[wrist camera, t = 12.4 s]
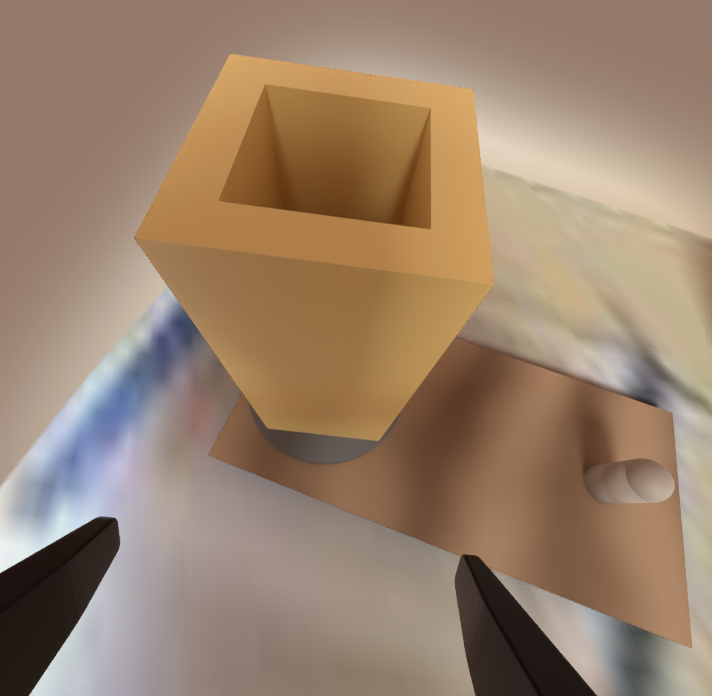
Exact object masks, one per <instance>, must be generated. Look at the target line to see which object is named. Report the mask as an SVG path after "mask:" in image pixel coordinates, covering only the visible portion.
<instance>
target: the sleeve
mask: <svg viewBox="0 0 712 696" xmlns="http://www.w3.org/2000/svg"><path fill="white" fill-rule="evenodd" d="M134 239H135V240H136V242H137V243H138V244H139V246H140V247H141V248H142V250H143V252H144V253H145V254H146V256H147V257H148V259H149V260H150V261H151V263H152V264H153V266H154V267H155V269H156V270H157V272H158V273H159V274H160V276H161V277H162V279H163V280H164V281H165V283H166V284H167V286H168V287H169V289H170V290H171V291H172V293H173V294H174V296H175V297H176V299H177V300H178V301H179V303H180V304H181V306H182V307H183V309H184V310H185V311H186V313H187V314H188V316H189V317H190V319H191V320H192V321H193V323H194V324H195V326H196V327H197V329H198V330H199V331H200V333H201V334H202V336H203V337H204V339H205V340H206V341H207V343H208V344H209V346H210V347H211V349H212V350H213V351H214V353H215V354H216V356H217V357H218V359H219V360H220V361H221V363H222V364H223V366H224V367H225V369H226V370H227V371H228V373H229V374H230V376H231V377H232V379H233V380H234V381H235V383H236V384H237V386H238V387H239V389H240V390H241V391H242V393H243V394H244V396H245V397H246V398H247V400H248V401H249V403H250V404H251V406H252V407H253V408H254V410H255V411H256V413H257V414H258V416H259V417H260V418H261V420H262V421H263V423H264V424H265V426H266V427H267V428H268V429H276V430H285V431H294V432H303V433H311V434H320V435H329V436H337V437H346V438H355V439H364V440H372V441H379V440H380V439H381V437H382V436H383V435H384V433H385V432H386V431H387V429H388V428H389V426H390V425H391V424H392V422H393V421H394V420H395V418H396V417H397V416H398V414H399V413H400V412H401V410H402V409H403V407H404V406H405V405H406V403H407V402H408V401H409V399H410V398H411V397H412V395H413V394H414V393H415V391H416V390H417V388H418V387H419V386H420V384H421V383H422V382H423V380H424V379H425V378H426V376H427V375H428V373H429V372H430V371H431V369H432V368H433V367H434V365H435V364H436V363H437V361H438V360H439V359H440V357H441V356H442V354H443V353H444V352H445V350H446V349H447V348H448V346H449V345H450V344H451V342H452V341H453V340H454V338H455V337H456V335H457V334H458V333H459V331H460V330H461V329H462V327H463V326H464V325H465V323H466V322H467V321H468V319H469V318H470V316H471V315H472V314H473V312H474V311H475V310H476V308H477V307H478V306H479V304H480V303H481V302H482V300H483V299H484V297H485V296H486V295H487V293H488V292H489V291H490V289H491V288H492V287H493V285H494V280H493V270H492V261H491V252H490V242H489V233H488V224H487V214H486V205H485V196H484V186H483V177H482V168H481V158H480V149H479V140H478V131H477V122H476V112H475V102H474V93H473V89H467V88H461V87H454V86H447V85H440V84H433V83H426V82H420V81H412V80H405V79H399V78H392V77H385V76H379V75H372V74H365V73H358V72H351V71H344V70H337V69H331V68H330V69H329V68H324V67H317V66H310V65H303V64H296V63H289V62H283V61H275V60H268V59H262V58H255V57H248V56H241V55H235V54H230V56H229V57H228V59H227V61H226V63H225V65H224V67H223V69H222V71H221V73H220V75H219V77H218V79H217V81H216V82H215V85H214V86H213V88H212V90H211V92H210V94H209V96H208V98H207V100H206V101H205V103H204V105H203V107H202V109H201V111H200V113H199V115H198V117H197V119H196V121H195V123H194V124H193V126H192V128H191V130H190V132H189V134H188V136H187V138H186V140H185V142H184V143H183V145H182V147H181V149H180V151H179V153H178V155H177V157H176V159H175V161H174V163H173V165H172V166H171V169H170V170H169V172H168V174H167V176H166V178H165V180H164V182H163V184H162V185H161V187H160V190H159V191H158V193H157V195H156V197H155V199H154V201H153V203H152V205H151V207H150V209H149V210H148V212H147V214H146V216H145V218H144V220H143V222H142V224H141V226H140V228H139V229H138V231H137V234H136V235H135V237H134Z"/></svg>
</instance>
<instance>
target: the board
mask: <svg viewBox="0 0 712 696" xmlns="http://www.w3.org/2000/svg"><path fill="white" fill-rule="evenodd" d="M209 456H211V457H213V458H216V459H218V460H221V461H223V462H226V463H228V464H231V465H233V466H236V467H239V468H241V469H244V470H246V471H249V472H251V473H254V474H256V475H259V476H261V477H264V478H266V479H269V480H271V481H274V482H276V483H279V484H281V485H284V486H286V487H289V488H291V489H294V490H296V491H299V492H301V493H304V494H306V495H309V496H311V497H314V498H316V499H319V500H321V501H324V502H326V503H329V504H331V505H334V506H336V507H339V508H341V509H344V510H346V511H349V512H351V513H354V514H356V515H359V516H361V517H364V518H366V519H369V520H371V521H374V522H376V523H379V524H381V525H384V526H386V527H389V528H391V529H394V530H396V531H399V532H401V533H404V534H406V535H409V536H411V537H414V538H416V539H419V540H421V541H424V542H426V543H429V544H431V545H434V546H436V547H439V548H441V549H444V550H446V551H449V552H451V553H454V554H456V555H459V556H462V555H463V554H468V555H476V556H478V557H480V558H481V559H482V561H483V562H484V563H485V564H486V565H487V567H489V568H491V569H494V570H496V571H499V572H501V573H504V574H506V575H509V576H511V577H514V578H516V579H519V580H521V581H524V582H526V583H529V584H531V585H534V586H536V587H539V588H541V589H544V590H546V591H549V592H551V593H554V594H556V595H559V596H561V597H564V598H566V599H569V600H571V601H574V602H576V603H579V604H581V605H584V606H586V607H589V608H591V609H594V610H596V611H599V612H601V613H604V614H606V615H609V616H611V617H614V618H616V619H619V620H621V621H624V622H626V623H629V624H631V625H634V626H636V627H639V628H641V629H644V630H646V631H649V632H651V633H654V634H656V635H659V636H661V637H664V638H666V639H669V640H671V641H674V642H676V643H679V644H682V645H684V646H687V647H690V648H692V641H691V630H690V618H689V606H688V594H687V582H686V570H685V558H684V546H683V534H682V522H681V510H680V498H679V486H678V474H677V462H676V450H675V438H674V427H673V415H672V413H671V412H668V411H665V410H662V409H659V408H656V407H654V406H651V405H648V404H645V403H642V402H639V401H636V400H633V399H630V398H628V397H625V396H622V395H619V394H616V393H613V392H610V391H607V390H604V389H601V388H599V387H596V386H593V385H590V384H587V383H584V382H581V381H578V380H575V379H573V378H570V377H567V376H564V375H561V374H558V373H555V372H552V371H549V370H547V369H544V368H541V367H538V366H535V365H532V364H529V363H526V362H523V361H520V360H518V359H515V358H512V357H509V356H506V355H503V354H500V353H497V352H494V351H492V350H489V349H486V348H483V347H480V346H477V345H474V344H471V343H468V342H466V341H463V340H460V339H457V338H454V340H453V341H452V342H451V344H450V345H449V346H448V348H447V349H446V350H445V352H444V353H443V354H442V356H441V357H440V359H439V360H438V361H437V363H436V364H435V365H434V367H433V368H432V369H431V371H430V372H429V373H428V375H427V376H426V378H425V379H424V380H423V382H422V383H421V384H420V386H419V387H418V388H417V390H416V391H415V393H414V394H413V395H412V397H411V398H410V399H409V401H408V402H407V403H406V405H405V406H404V407H403V409H402V410H401V412H400V413H399V414H398V416H397V417H396V418H395V420H394V421H393V422H392V424H391V425H390V426H389V428H388V429H387V431H386V432H385V433H384V435H383V436H382V437H381V439H380V440H379V441H372V440H364V439H355V438H346V437H337V436H329V435H320V434H311V433H303V432H294V431H285V430H276V429H268V428H267V427H266V426H265V424H264V423H263V421H262V420H261V418H260V417H259V416H258V414H257V413H256V411H255V410H254V408H253V407H252V406H251V404H250V403H249V401H248V400H247V398H246V397H245V396H244V394H243V393H242V394H241V396H240V398H239V400H238V401H237V403H236V405H235V407H234V409H233V411H232V412H231V414H230V416H229V418H228V420H227V422H226V424H225V425H224V427H223V429H222V431H221V433H220V435H219V436H218V438H217V440H216V442H215V444H214V446H213V447H212V449H211V451H210V453H209Z"/></svg>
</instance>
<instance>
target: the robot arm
mask: <svg viewBox="0 0 712 696" xmlns="http://www.w3.org/2000/svg"><path fill="white" fill-rule="evenodd" d="M119 546H120V536H119V527H118V521H117V519H116V518H112V517H97V518H95V519H93V520H92V521H90V522H88V523H86V524H85V525H83V526H81V527H79V528H78V529H76V530H74V531H72V532H71V533H69V534H67V535H66V536H64V537H62V538H60V539H59V540H57V541H55V542H53V543H52V544H50V545H48V546H46V547H45V548H43V549H41V550H40V551H38V552H36V553H34V554H33V555H31V556H29V557H27V558H26V559H24V560H22V561H20V562H19V563H17V564H15V565H14V566H12V567H10V568H8V569H7V570H5V571H3V572H1V573H0V696H29V695H30V693H31V692H32V690H33V689H34V687H35V686H36V684H37V683H38V681H39V680H40V678H41V677H42V675H43V674H44V672H45V671H46V669H47V668H48V666H49V665H50V663H51V662H52V660H53V659H54V657H55V656H56V654H57V653H58V651H59V650H60V648H61V647H62V645H63V644H64V642H65V641H66V639H67V638H68V636H69V635H70V633H71V632H72V630H73V629H74V627H75V626H76V624H77V623H78V621H79V619H80V618H81V616H82V614H83V613H84V611H85V609H86V608H87V606H88V604H89V602H90V600H91V599H92V597H93V595H94V593H95V591H96V590H97V588H98V586H99V584H100V582H101V581H102V579H103V577H104V575H105V573H106V572H107V570H108V568H109V566H110V565H111V563H112V561H113V559H114V557H115V556H116V554H117V552H118V549H119ZM455 589H456V595H457V602H458V608H459V615H460V621H461V628H462V634H463V640H464V647H465V652H466V658H467V662H468V667H469V671H470V675H471V679H472V683H473V687H474V691H475V695H476V696H597V695H596V694H595V693H594V691H593V690H592V689H591V688H590V687H589V686H588V684H587V683H586V682H585V681H584V680H583V678H582V677H581V676H580V675H579V674H578V673H577V671H576V670H575V669H574V668H573V667H572V666H571V664H570V663H569V662H568V661H567V660H566V658H565V657H564V656H563V655H562V654H561V653H560V651H559V650H558V649H557V648H556V647H555V645H554V644H553V643H552V642H551V641H550V640H549V638H548V637H547V636H546V635H545V634H544V633H543V631H542V630H541V629H540V628H539V627H538V625H537V624H536V623H535V622H534V621H533V620H532V618H531V617H530V616H529V615H528V614H527V612H526V611H525V610H524V609H523V608H522V607H521V605H520V604H519V603H518V602H517V601H516V600H515V598H514V597H513V596H512V595H511V594H510V592H509V591H508V590H507V589H506V588H505V587H504V585H503V584H502V583H501V582H500V581H499V579H498V578H497V577H496V576H495V575H494V574H493V572H492V571H491V570H490V569H489V568H488V567H487V565H486V564H485V563H484V562H483V561H482V559H481V558H480V557H478V556H476V555H468V554H463V555H462V556H461V558H460V562H459V565H458V568H457V572H456V575H455Z"/></svg>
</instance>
